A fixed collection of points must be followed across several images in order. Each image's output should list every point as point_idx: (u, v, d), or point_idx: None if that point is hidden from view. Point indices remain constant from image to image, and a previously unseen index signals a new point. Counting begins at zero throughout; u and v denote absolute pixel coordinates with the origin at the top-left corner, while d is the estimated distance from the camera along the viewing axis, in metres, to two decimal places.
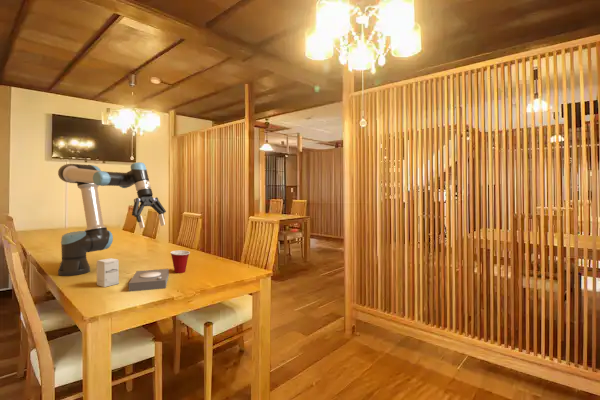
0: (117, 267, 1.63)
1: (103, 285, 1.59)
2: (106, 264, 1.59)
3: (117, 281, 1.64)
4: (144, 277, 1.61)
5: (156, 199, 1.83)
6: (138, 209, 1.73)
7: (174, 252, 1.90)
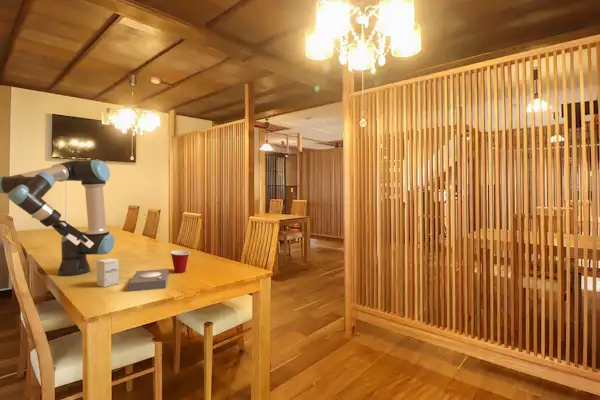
0: (117, 267, 1.63)
1: (103, 285, 1.59)
2: (106, 264, 1.59)
3: (117, 281, 1.64)
4: (144, 277, 1.61)
5: (61, 226, 1.41)
6: None
7: (174, 252, 1.90)
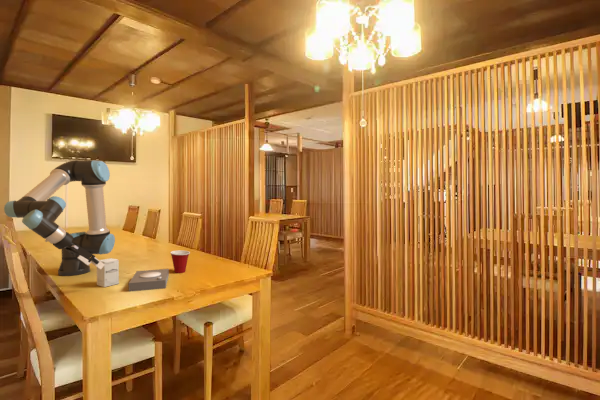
0: (117, 267, 1.63)
1: (103, 285, 1.59)
2: (106, 264, 1.59)
3: (117, 281, 1.64)
4: (144, 277, 1.61)
5: (73, 249, 1.45)
6: None
7: (174, 252, 1.90)
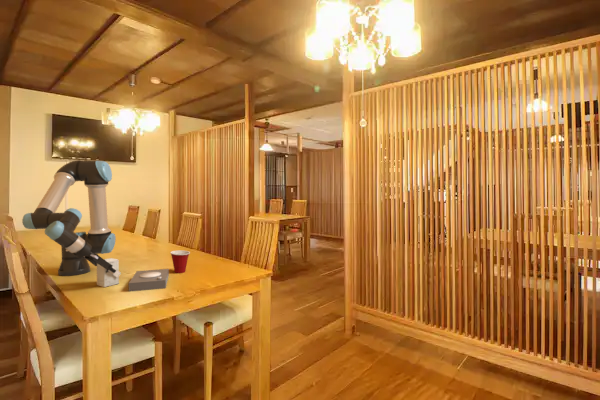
0: (117, 267, 1.63)
1: (103, 285, 1.59)
2: None
3: (117, 281, 1.64)
4: (144, 277, 1.61)
5: (93, 259, 1.52)
6: None
7: (174, 252, 1.90)
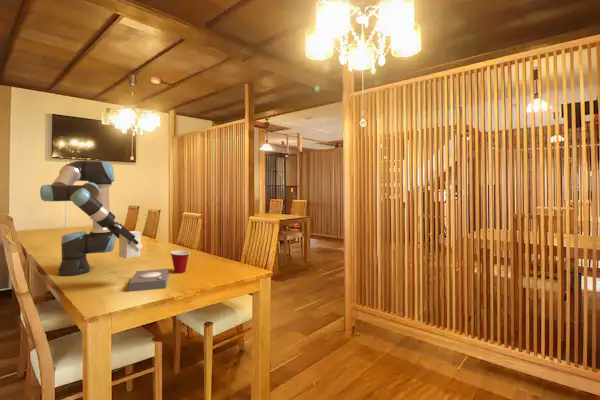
0: (139, 239, 1.62)
1: (125, 256, 1.57)
2: None
3: (139, 253, 1.62)
4: (144, 277, 1.61)
5: (117, 228, 1.51)
6: None
7: (174, 252, 1.90)
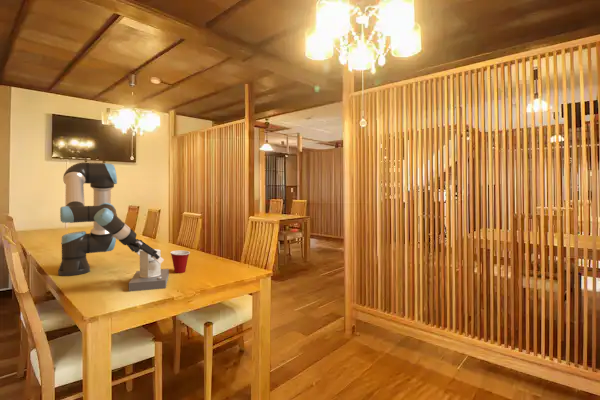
0: None
1: (146, 275, 1.61)
2: None
3: (159, 271, 1.66)
4: (144, 277, 1.61)
5: (138, 245, 1.54)
6: None
7: (174, 252, 1.90)
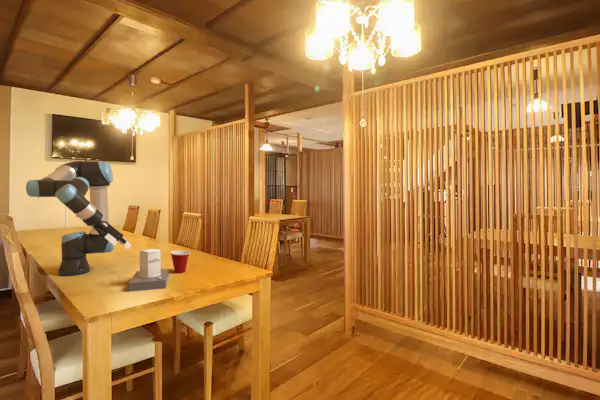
0: (159, 257, 1.66)
1: (146, 275, 1.61)
2: (149, 254, 1.61)
3: (159, 271, 1.66)
4: (144, 277, 1.61)
5: (102, 226, 1.44)
6: None
7: (174, 252, 1.90)
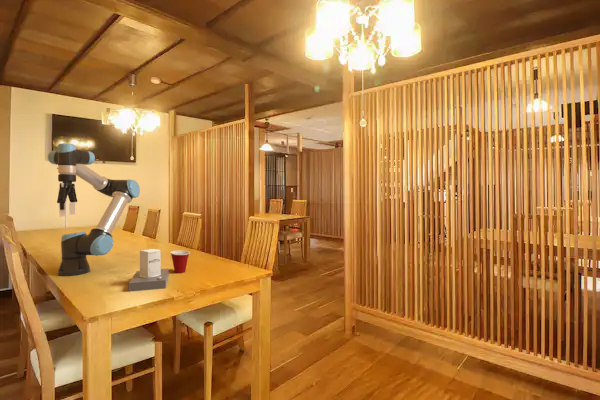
0: (159, 257, 1.66)
1: (146, 275, 1.61)
2: (149, 254, 1.61)
3: (159, 271, 1.66)
4: (144, 277, 1.61)
5: None
6: None
7: (174, 252, 1.90)
